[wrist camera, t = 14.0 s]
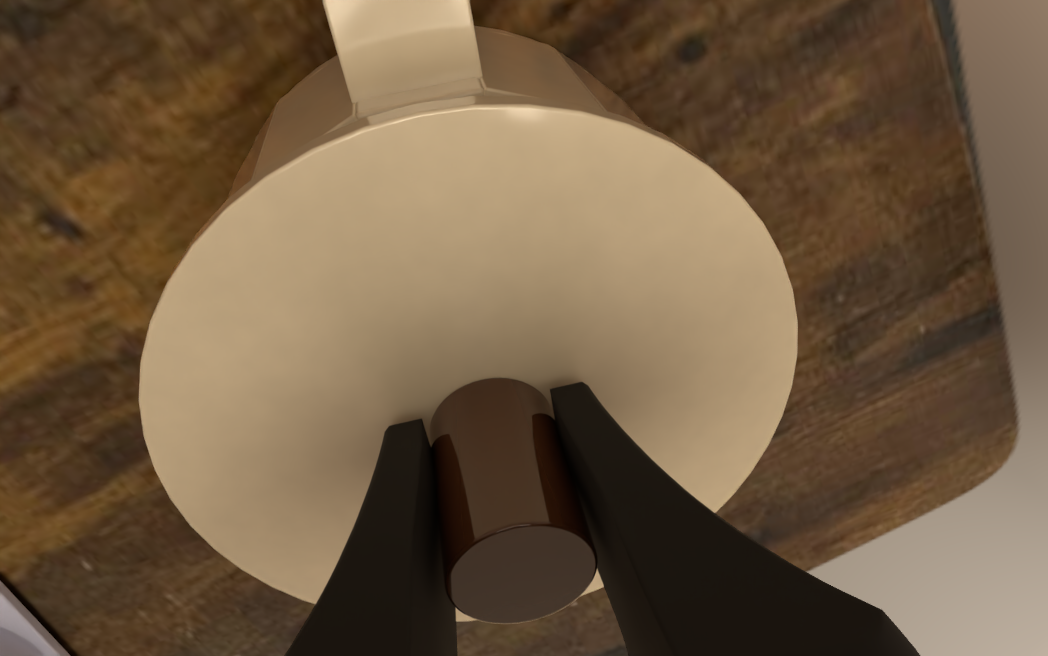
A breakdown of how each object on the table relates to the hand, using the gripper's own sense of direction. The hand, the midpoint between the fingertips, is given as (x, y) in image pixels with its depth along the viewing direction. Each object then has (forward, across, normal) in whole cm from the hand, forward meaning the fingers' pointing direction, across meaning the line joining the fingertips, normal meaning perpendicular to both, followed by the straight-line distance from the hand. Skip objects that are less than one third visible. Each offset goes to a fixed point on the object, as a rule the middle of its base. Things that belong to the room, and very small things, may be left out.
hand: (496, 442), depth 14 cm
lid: (+1, 0, 0) cm, 1 cm away
